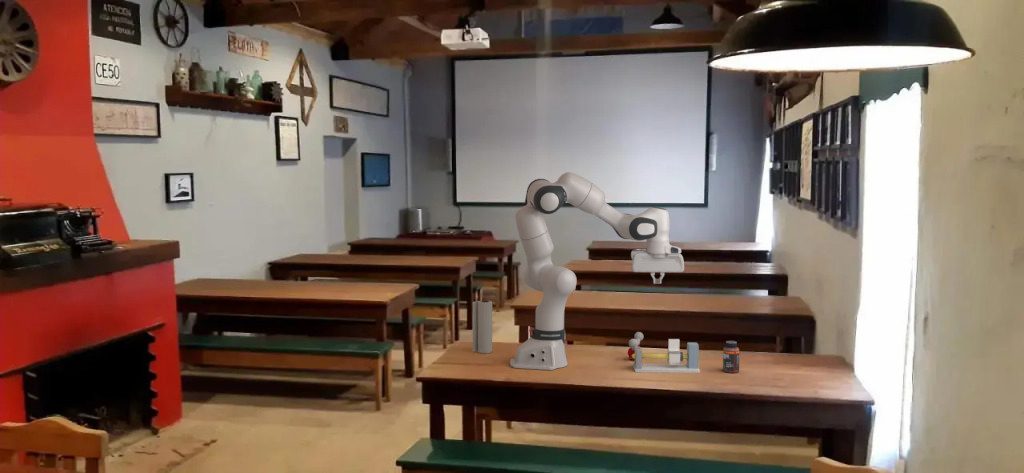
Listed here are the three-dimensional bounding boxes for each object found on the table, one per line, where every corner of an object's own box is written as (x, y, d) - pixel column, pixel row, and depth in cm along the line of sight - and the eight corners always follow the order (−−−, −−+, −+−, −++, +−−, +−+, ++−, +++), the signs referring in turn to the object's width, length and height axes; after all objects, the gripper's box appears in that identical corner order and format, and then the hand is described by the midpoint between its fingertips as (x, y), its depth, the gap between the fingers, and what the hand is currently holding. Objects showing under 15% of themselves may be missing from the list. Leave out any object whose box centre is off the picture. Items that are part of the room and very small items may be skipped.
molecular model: (638, 365, 306) (638, 340, 305) (623, 364, 307) (624, 339, 306) (644, 355, 322) (645, 331, 321) (631, 354, 324) (631, 330, 323)
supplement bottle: (738, 370, 299) (739, 340, 298) (739, 373, 293) (740, 343, 292) (722, 369, 300) (722, 339, 299) (723, 373, 294) (723, 343, 293)
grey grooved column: (495, 351, 329) (495, 300, 327) (487, 354, 324) (487, 302, 322) (480, 349, 332) (480, 299, 331) (472, 352, 327) (472, 301, 325)
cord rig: (633, 372, 295) (633, 345, 295) (630, 366, 304) (630, 340, 304) (700, 372, 295) (700, 346, 294) (695, 366, 304) (695, 341, 303)
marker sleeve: (669, 364, 297) (669, 340, 296) (667, 361, 302) (667, 338, 301) (680, 364, 297) (680, 340, 296) (677, 361, 302) (678, 338, 301)
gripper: (632, 249, 305) (631, 284, 306) (685, 249, 304) (684, 284, 305) (630, 247, 311) (629, 282, 312) (682, 247, 311) (681, 282, 312)
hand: (657, 283), depth 309 cm, fingers closed
